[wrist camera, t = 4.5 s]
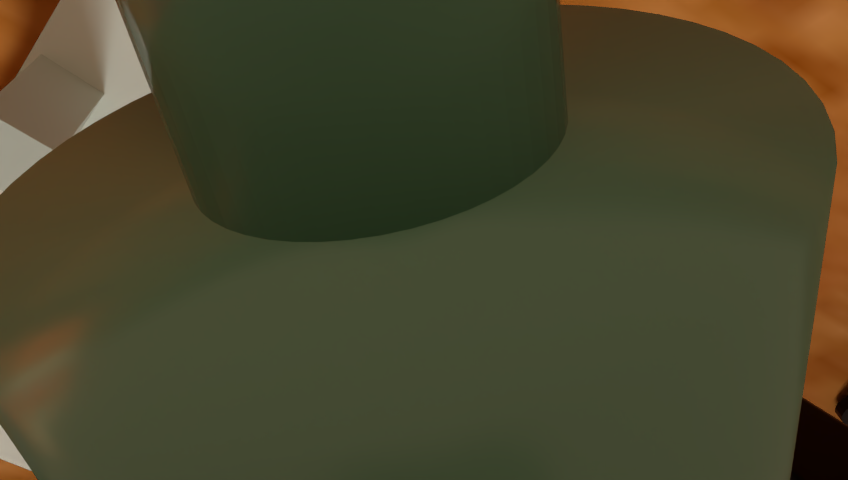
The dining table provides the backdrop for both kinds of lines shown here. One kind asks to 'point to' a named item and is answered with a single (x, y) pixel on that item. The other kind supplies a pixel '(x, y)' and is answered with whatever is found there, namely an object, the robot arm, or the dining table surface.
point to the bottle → (420, 250)
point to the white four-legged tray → (65, 95)
